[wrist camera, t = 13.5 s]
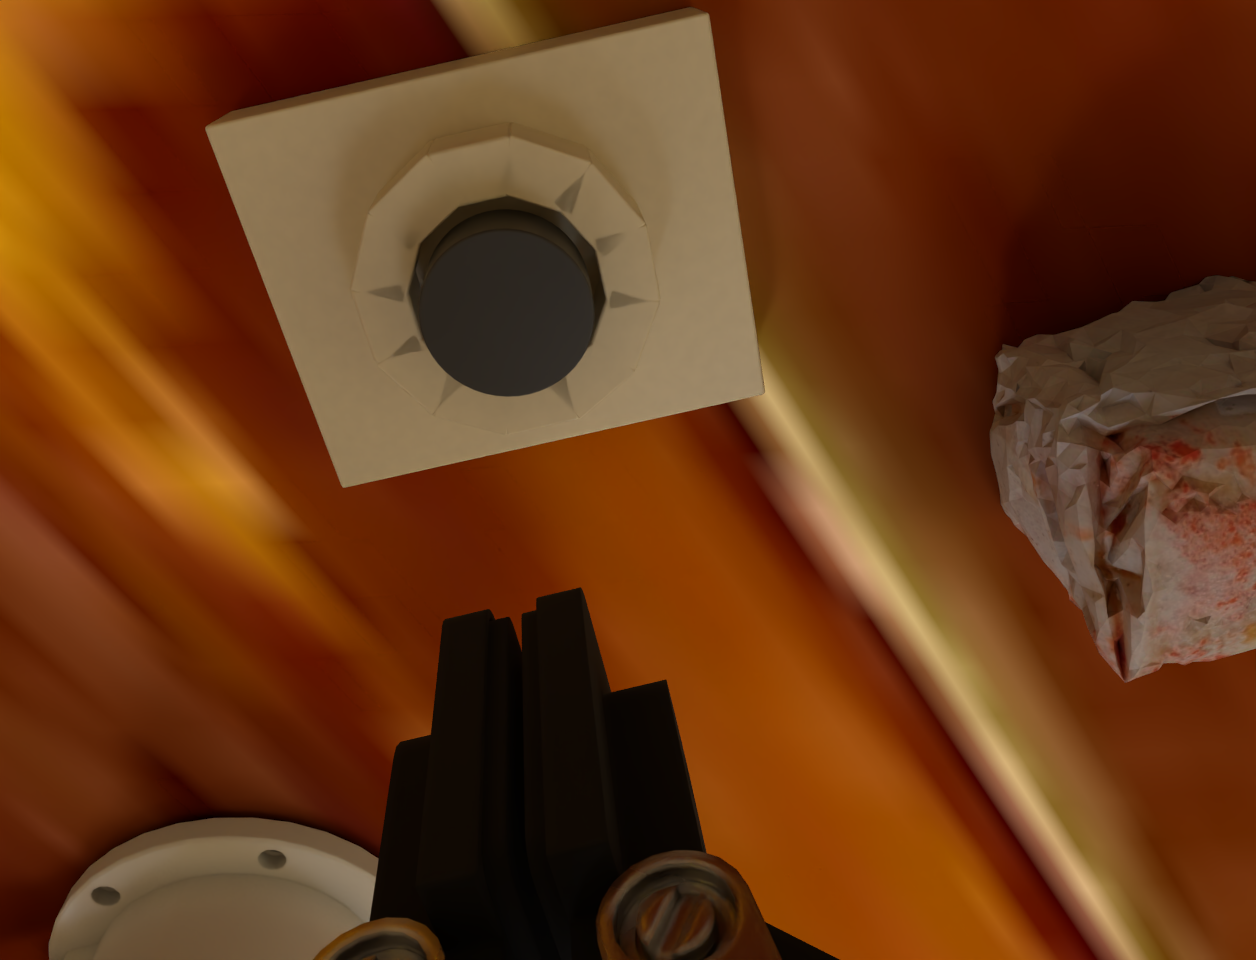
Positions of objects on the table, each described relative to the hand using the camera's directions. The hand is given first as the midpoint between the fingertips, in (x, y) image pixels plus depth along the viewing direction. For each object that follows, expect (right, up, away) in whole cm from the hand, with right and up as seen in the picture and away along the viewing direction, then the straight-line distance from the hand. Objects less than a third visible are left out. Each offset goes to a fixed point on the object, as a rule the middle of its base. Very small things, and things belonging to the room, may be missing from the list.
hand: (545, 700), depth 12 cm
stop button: (-2, +7, +10) cm, 12 cm away
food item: (+17, +6, +17) cm, 25 cm away
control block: (-2, +9, +13) cm, 16 cm away
